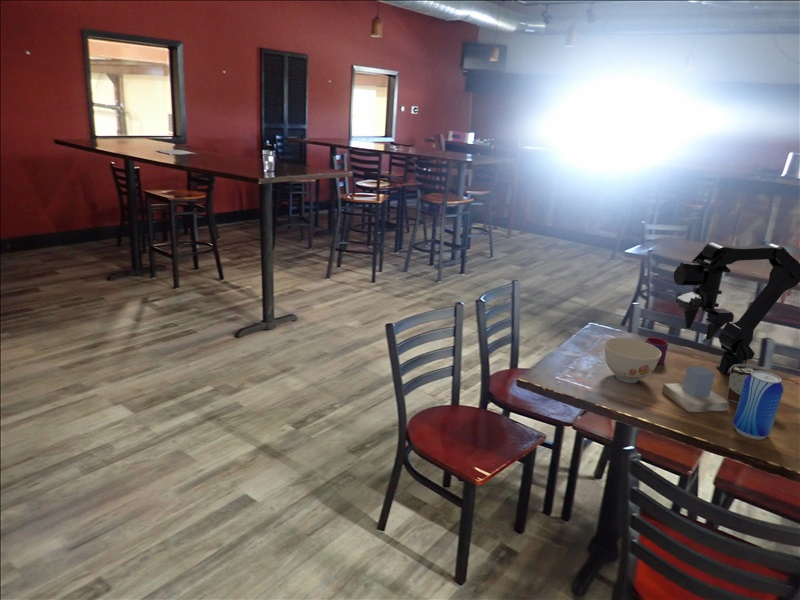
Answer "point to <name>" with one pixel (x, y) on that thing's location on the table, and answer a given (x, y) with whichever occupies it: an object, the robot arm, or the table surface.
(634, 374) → the bowl
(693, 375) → the slate block
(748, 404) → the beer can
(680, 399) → the birch base
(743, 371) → the food container
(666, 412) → the table surface
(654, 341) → the mug
